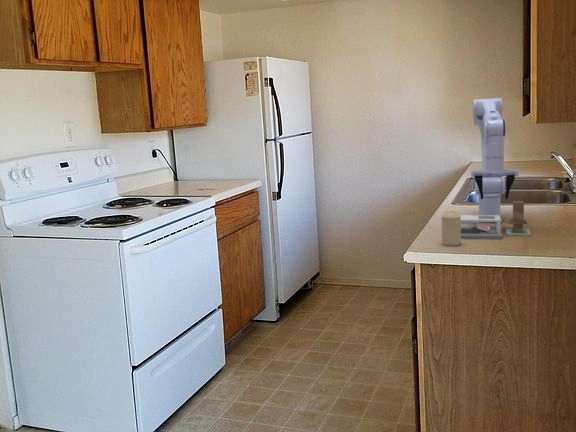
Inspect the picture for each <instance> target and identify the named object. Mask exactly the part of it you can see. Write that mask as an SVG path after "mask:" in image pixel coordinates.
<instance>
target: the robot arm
mask: <svg viewBox="0 0 576 432" xmlns="http://www.w3.org/2000/svg"><path fill="white" fill-rule="evenodd" d="M502 114H503V99H502V98H501V97H497V98H496V97H495V98H480V99H479V98H478V99H477V98H474V99H473V100H472V118H473V119H472V120H473V124H474V125H475V126H477V127H478V128H479V132H480V142H481V164H482V167H481V168H480V169H476V170H471V171H470V178H474V194H475V195H477V196H478V215H499V216H500V220H501V223H502V222H503V220H502V215H501V197H502V195H504V193H505V200H508V199H509V195H510V191H511V188H512V186H513V183H514V181H515V179H516V177H519V169H504V168H505V166H504V165H505V162H504V161H505V137H506V133H507V122H506V119H505V118H502ZM479 219H495V218H479Z"/></svg>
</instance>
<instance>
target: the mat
mask: <svg viewBox="0 0 576 432" xmlns="http://www.w3.org/2000/svg"><path fill="white" fill-rule="evenodd" d="M505 234H506V236H507V237H532V234H531V231H530V229H528V228H527V229H526V228H525V229H524V228H523V233H514V231H513V229H508V228H507V229H505Z"/></svg>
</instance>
